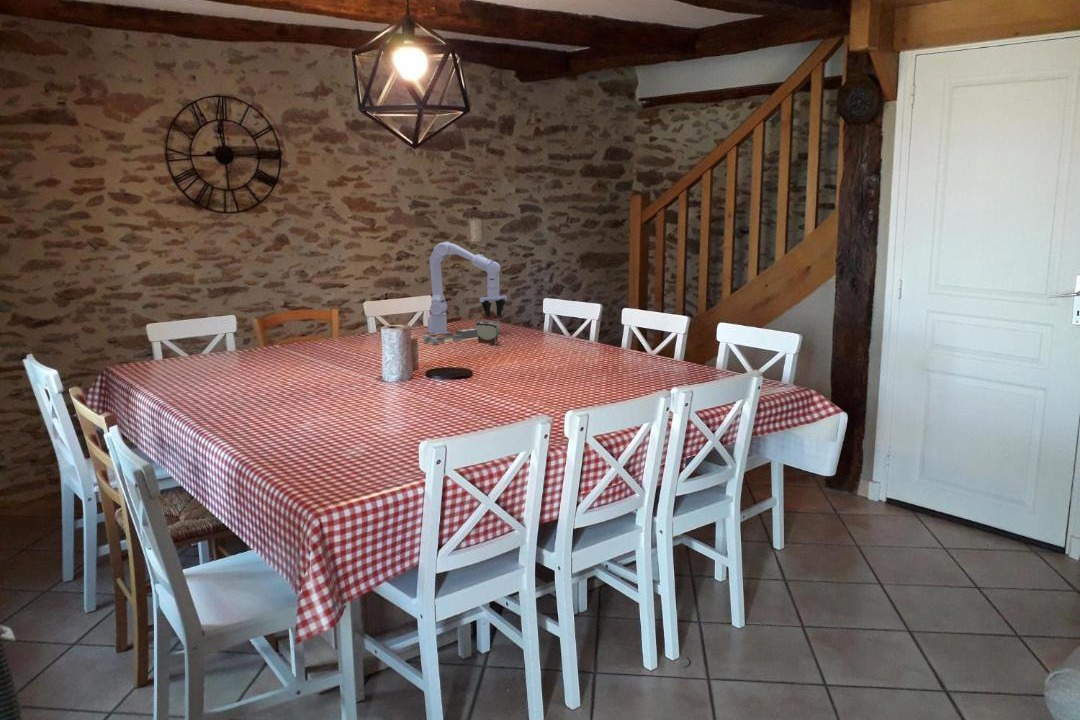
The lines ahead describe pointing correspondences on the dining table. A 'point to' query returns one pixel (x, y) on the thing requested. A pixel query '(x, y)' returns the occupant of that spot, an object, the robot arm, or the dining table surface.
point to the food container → (488, 332)
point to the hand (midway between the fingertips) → (493, 315)
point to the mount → (443, 338)
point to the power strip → (468, 333)
